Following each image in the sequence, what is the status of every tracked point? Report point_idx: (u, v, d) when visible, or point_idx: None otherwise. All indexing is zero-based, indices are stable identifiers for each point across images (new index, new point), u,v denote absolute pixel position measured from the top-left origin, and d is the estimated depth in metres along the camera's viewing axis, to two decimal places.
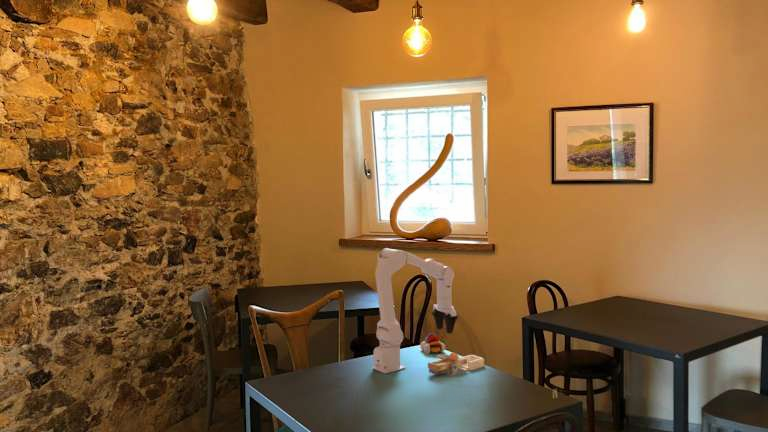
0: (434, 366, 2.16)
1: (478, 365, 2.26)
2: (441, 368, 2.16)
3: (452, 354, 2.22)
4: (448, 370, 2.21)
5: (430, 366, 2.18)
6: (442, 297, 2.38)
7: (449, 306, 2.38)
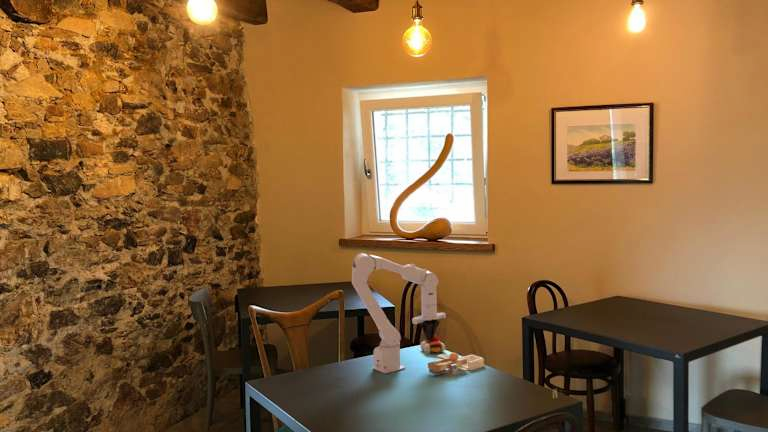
0: (434, 366, 2.16)
1: (478, 365, 2.26)
2: (441, 368, 2.16)
3: (452, 354, 2.22)
4: (448, 370, 2.21)
5: (430, 366, 2.18)
6: (421, 303, 2.30)
7: (424, 314, 2.27)
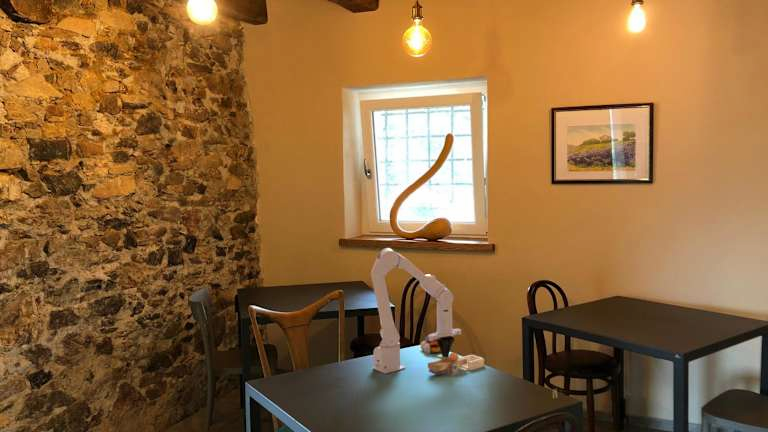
0: (434, 366, 2.16)
1: (478, 365, 2.26)
2: (441, 368, 2.16)
3: (452, 354, 2.22)
4: (448, 370, 2.21)
5: (430, 366, 2.18)
6: None
7: (440, 331, 2.27)
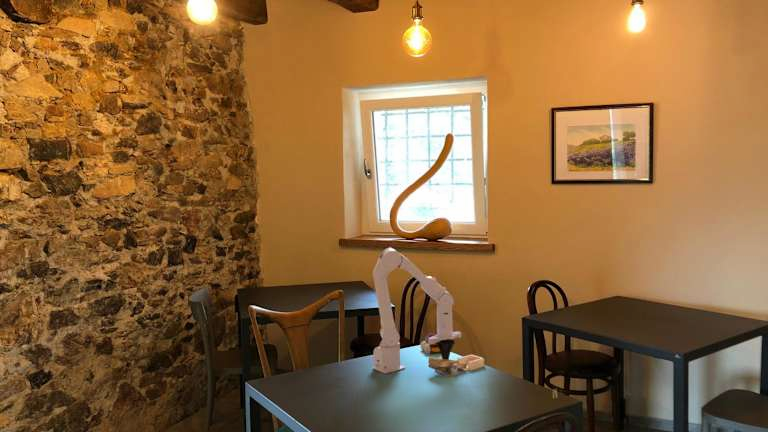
0: (435, 361, 2.16)
1: (478, 365, 2.26)
2: (441, 364, 2.16)
3: (473, 357, 2.28)
4: (448, 370, 2.21)
5: (430, 361, 2.18)
6: (437, 322, 2.29)
7: (440, 334, 2.27)
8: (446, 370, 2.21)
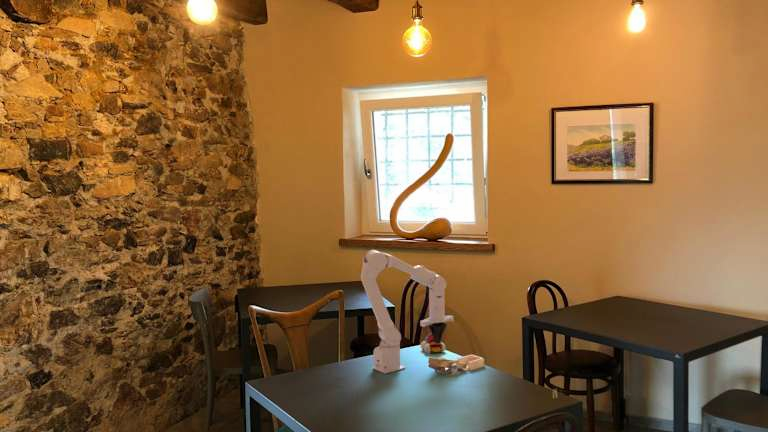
0: (435, 361, 2.16)
1: (478, 365, 2.26)
2: (441, 364, 2.16)
3: (472, 357, 2.28)
4: (448, 370, 2.21)
5: (430, 361, 2.18)
6: (429, 306, 2.31)
7: (432, 317, 2.29)
8: (446, 370, 2.21)
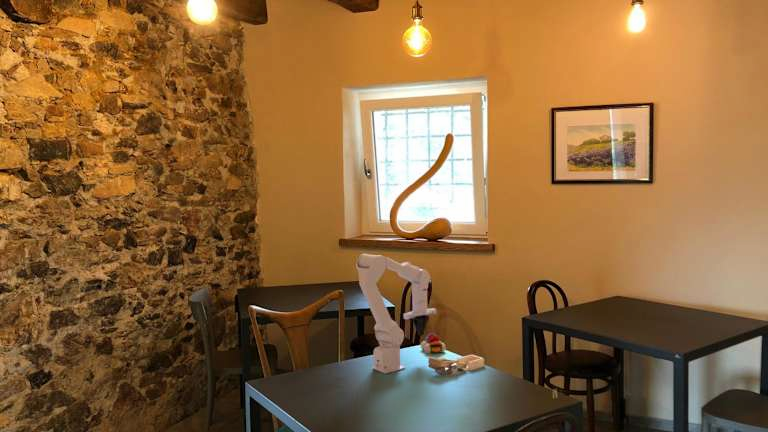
0: (435, 361, 2.16)
1: (478, 365, 2.26)
2: (441, 364, 2.16)
3: (472, 357, 2.28)
4: (448, 370, 2.21)
5: (430, 361, 2.18)
6: (412, 299, 2.37)
7: (415, 310, 2.35)
8: (446, 370, 2.21)
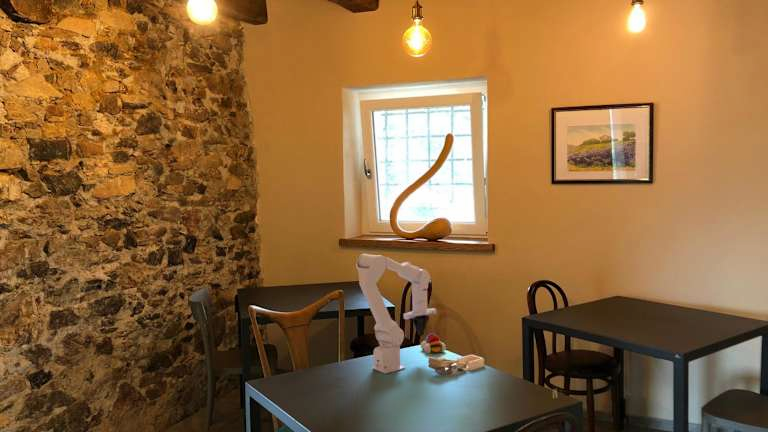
0: (435, 361, 2.16)
1: (478, 365, 2.26)
2: (441, 364, 2.16)
3: (472, 357, 2.28)
4: (448, 370, 2.21)
5: (430, 361, 2.18)
6: (412, 299, 2.37)
7: (415, 310, 2.35)
8: (446, 370, 2.21)
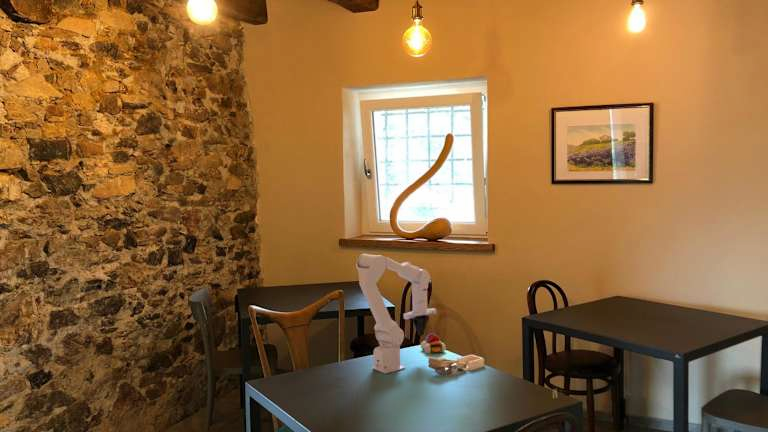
0: (435, 361, 2.16)
1: (478, 365, 2.26)
2: (441, 364, 2.16)
3: (472, 357, 2.28)
4: (448, 370, 2.21)
5: (430, 361, 2.18)
6: (412, 299, 2.37)
7: (415, 310, 2.35)
8: (446, 370, 2.21)
